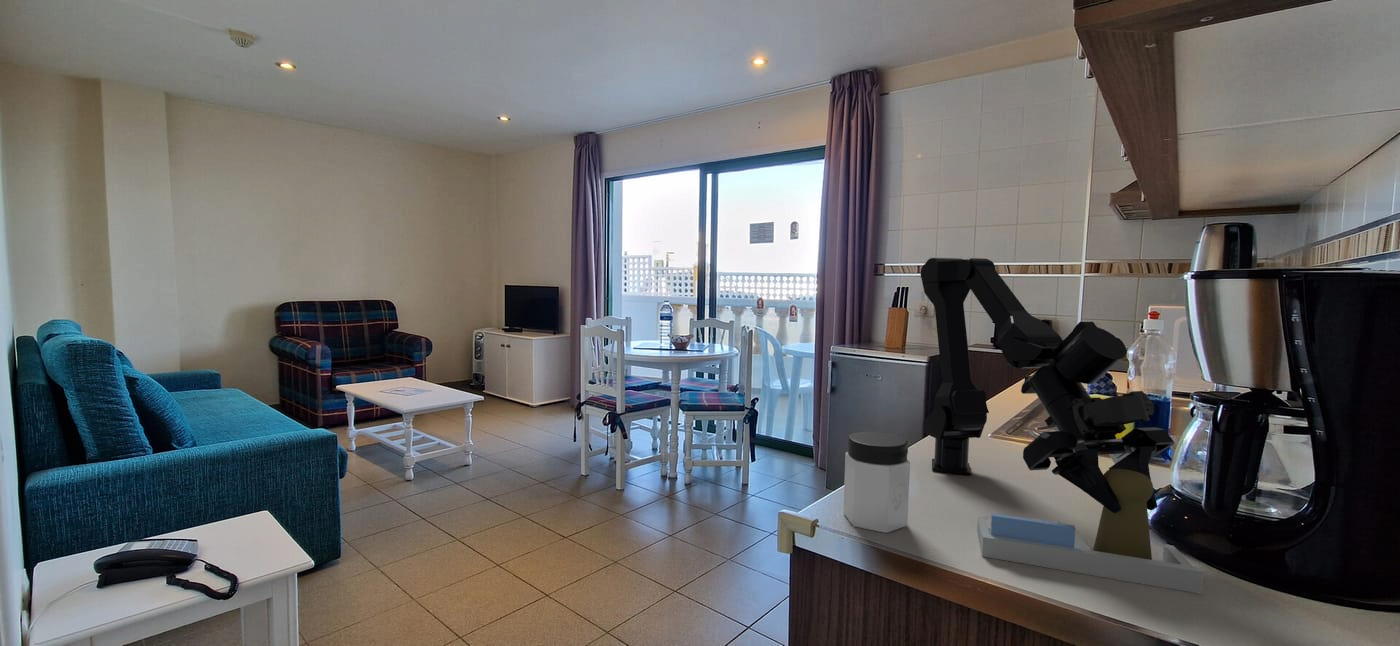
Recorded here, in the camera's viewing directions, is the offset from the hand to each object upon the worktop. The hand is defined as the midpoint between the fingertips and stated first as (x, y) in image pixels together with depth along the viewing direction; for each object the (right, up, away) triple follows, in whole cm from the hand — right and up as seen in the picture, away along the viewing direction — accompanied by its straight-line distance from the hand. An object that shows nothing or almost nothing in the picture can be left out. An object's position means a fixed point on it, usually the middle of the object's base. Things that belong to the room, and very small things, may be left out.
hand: (1135, 510), depth 71 cm
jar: (-29, -6, +12) cm, 31 cm away
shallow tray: (-6, -6, +1) cm, 9 cm away
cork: (0, -7, +2) cm, 7 cm away
